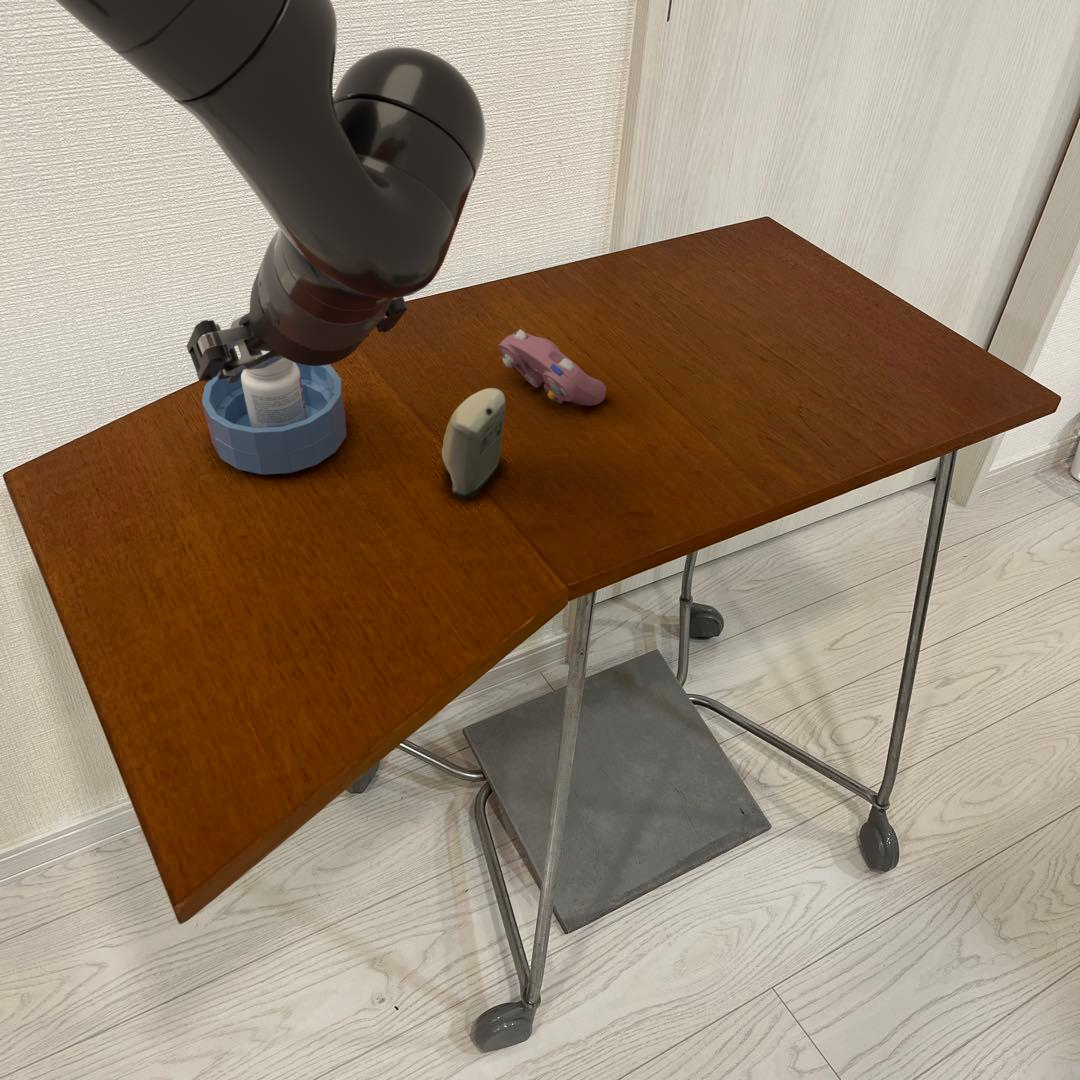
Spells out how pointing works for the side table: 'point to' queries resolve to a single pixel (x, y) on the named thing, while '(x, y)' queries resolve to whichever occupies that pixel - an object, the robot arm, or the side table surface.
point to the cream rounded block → (474, 441)
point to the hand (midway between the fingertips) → (283, 354)
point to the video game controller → (550, 369)
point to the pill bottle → (274, 394)
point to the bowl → (277, 444)
